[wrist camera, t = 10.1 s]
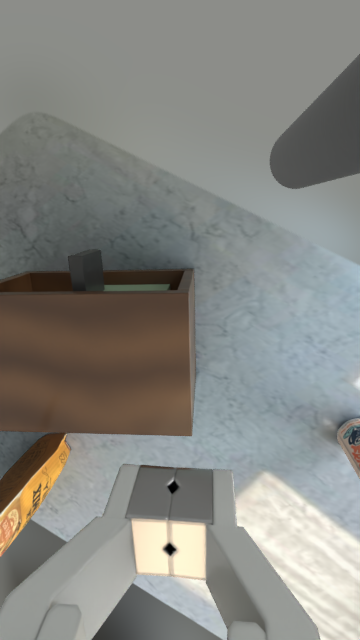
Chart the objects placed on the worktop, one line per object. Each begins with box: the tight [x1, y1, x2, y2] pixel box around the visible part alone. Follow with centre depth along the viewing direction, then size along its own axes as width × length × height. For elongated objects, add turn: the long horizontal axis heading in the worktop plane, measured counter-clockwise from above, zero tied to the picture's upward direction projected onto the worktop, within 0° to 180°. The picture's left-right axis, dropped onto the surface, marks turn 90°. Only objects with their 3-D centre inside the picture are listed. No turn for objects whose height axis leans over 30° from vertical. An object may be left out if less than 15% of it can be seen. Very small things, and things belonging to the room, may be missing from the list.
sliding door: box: [68, 250, 170, 291], centre depth 30 cm, size 5×8×9 cm, turn 92°
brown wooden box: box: [0, 269, 196, 436], centre depth 32 cm, size 13×19×11 cm
